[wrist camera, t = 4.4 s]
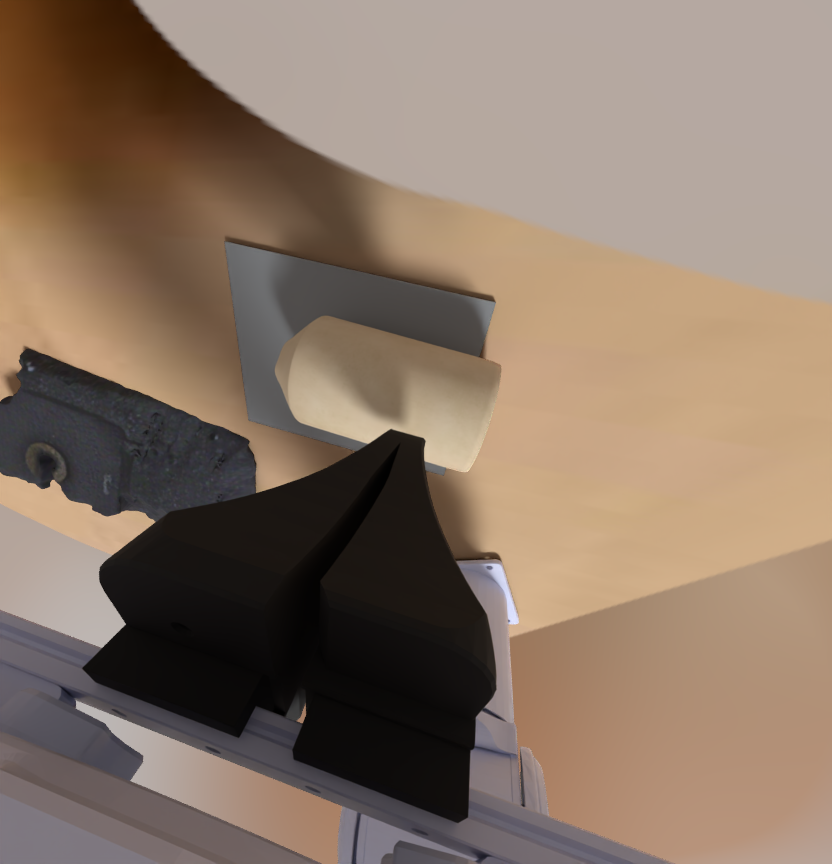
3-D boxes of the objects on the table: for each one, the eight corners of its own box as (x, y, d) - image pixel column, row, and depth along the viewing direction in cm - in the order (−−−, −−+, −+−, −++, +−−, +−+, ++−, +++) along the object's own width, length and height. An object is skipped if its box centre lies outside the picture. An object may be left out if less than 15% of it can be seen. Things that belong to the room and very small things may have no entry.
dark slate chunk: (263, 551, 31) (228, 595, 27) (72, 475, 31) (10, 506, 27) (267, 435, 23) (219, 472, 19) (10, 335, 23) (-91, 349, 19)
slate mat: (495, 302, 14) (495, 302, 14) (444, 472, 20) (443, 475, 20) (228, 241, 16) (224, 241, 15) (251, 418, 21) (248, 420, 21)
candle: (462, 463, 17) (304, 415, 18) (490, 372, 17) (327, 326, 17) (470, 487, 12) (243, 416, 12) (513, 352, 11) (274, 287, 12)
